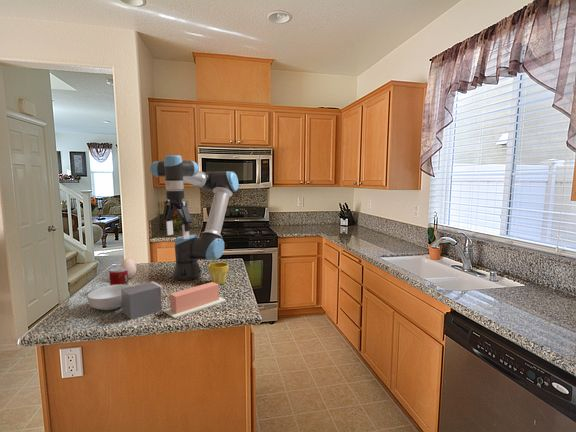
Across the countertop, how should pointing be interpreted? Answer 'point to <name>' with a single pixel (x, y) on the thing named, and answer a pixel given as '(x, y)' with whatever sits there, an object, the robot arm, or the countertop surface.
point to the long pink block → (194, 297)
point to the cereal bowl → (106, 297)
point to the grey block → (141, 299)
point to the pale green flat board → (193, 309)
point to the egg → (129, 267)
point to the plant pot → (218, 272)
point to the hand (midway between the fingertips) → (178, 236)
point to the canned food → (118, 276)
